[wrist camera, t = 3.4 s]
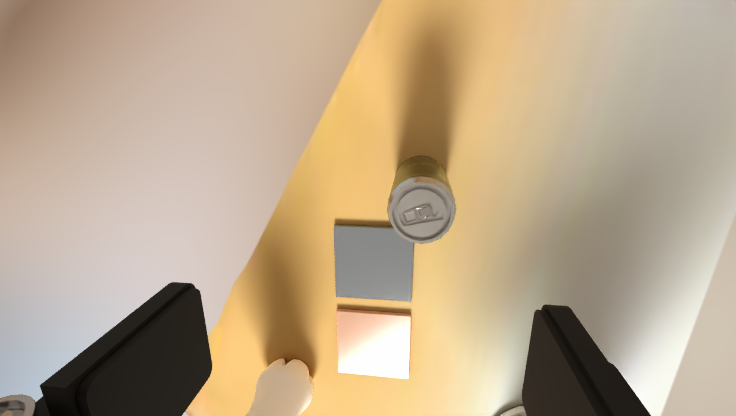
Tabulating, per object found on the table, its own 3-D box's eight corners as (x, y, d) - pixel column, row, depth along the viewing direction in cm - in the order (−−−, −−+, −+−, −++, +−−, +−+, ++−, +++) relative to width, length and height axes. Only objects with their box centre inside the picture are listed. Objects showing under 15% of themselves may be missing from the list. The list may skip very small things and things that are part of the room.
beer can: (405, 210, 41) (399, 254, 29) (388, 164, 39) (375, 192, 28) (452, 194, 39) (466, 234, 28) (436, 147, 38) (444, 169, 27)
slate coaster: (414, 227, 41) (413, 229, 40) (411, 299, 44) (411, 301, 43) (335, 224, 42) (333, 226, 42) (337, 294, 45) (335, 296, 44)
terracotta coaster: (410, 313, 44) (410, 316, 44) (408, 375, 47) (408, 378, 46) (337, 308, 45) (336, 311, 45) (339, 369, 48) (338, 372, 47)
